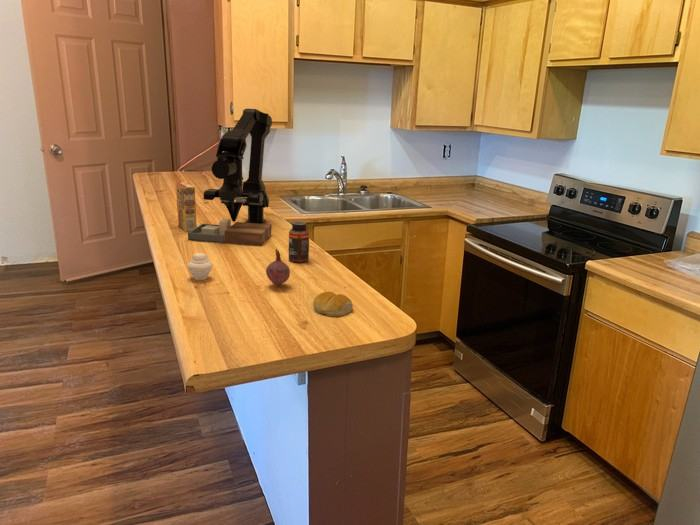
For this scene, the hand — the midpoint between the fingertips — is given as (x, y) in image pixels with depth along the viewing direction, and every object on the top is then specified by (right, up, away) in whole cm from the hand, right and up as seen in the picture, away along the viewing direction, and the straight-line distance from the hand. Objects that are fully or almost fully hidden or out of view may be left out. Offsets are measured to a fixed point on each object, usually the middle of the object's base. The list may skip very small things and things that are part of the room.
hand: (234, 221), depth 179 cm
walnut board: (+5, -6, -2) cm, 8 cm away
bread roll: (+35, -25, -55) cm, 69 cm away
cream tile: (-2, -2, 0) cm, 3 cm away
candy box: (-18, -2, +7) cm, 19 cm away
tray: (-7, -5, -1) cm, 9 cm away
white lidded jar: (0, -18, -40) cm, 44 cm away
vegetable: (+20, -20, -43) cm, 51 cm away
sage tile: (-7, -2, -2) cm, 8 cm away
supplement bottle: (+24, -13, -21) cm, 34 cm away
